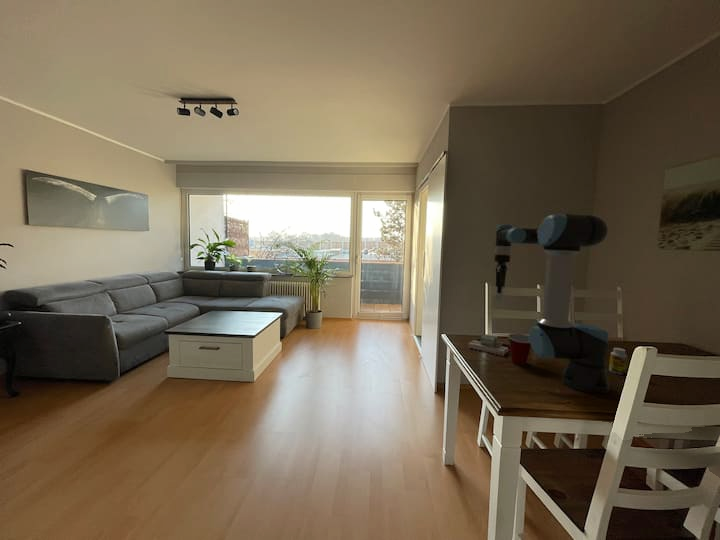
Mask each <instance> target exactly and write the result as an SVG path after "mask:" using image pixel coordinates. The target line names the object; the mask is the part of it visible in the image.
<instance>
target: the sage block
mask: <svg viewBox="0 0 720 540" xmlns="http://www.w3.org/2000/svg"><path fill="white" fill-rule="evenodd" d="M482 335H483V334H482ZM497 338H498V336H497V335H492V334H486V333H485V334H484V335H483V336H482V337H481V345H484V346H488V347H494V346H495V345H497Z"/></svg>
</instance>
